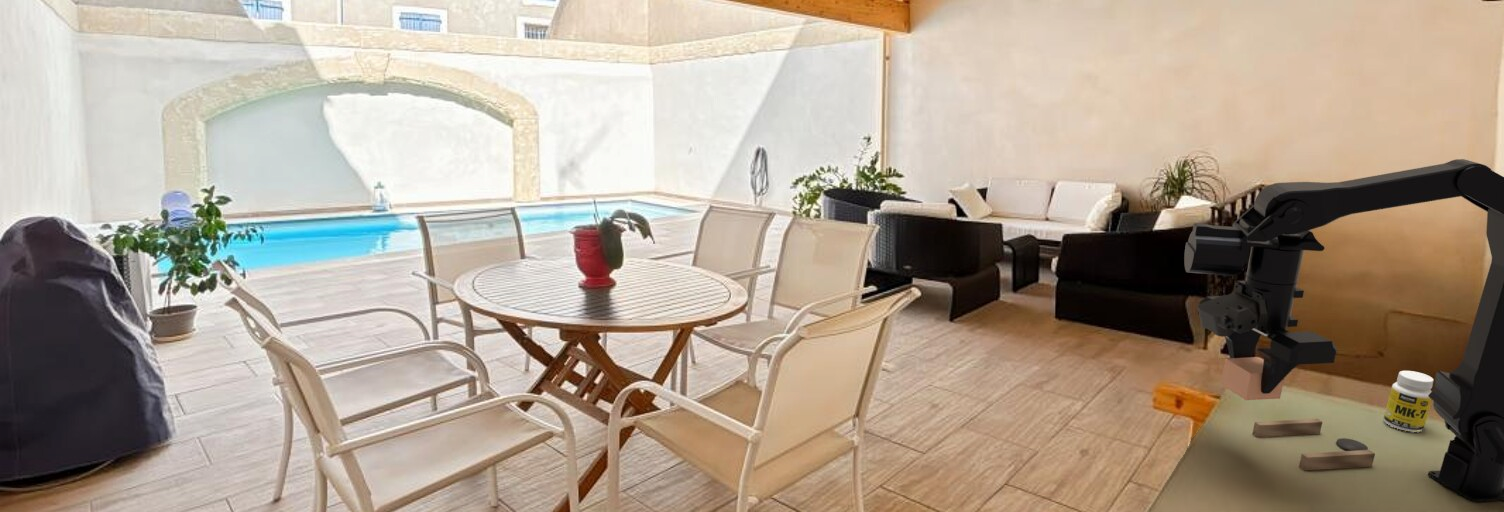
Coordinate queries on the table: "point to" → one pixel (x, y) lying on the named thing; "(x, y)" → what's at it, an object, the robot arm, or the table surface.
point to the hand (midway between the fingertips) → (1251, 384)
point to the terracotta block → (1247, 378)
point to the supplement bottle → (1409, 401)
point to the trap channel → (1350, 458)
